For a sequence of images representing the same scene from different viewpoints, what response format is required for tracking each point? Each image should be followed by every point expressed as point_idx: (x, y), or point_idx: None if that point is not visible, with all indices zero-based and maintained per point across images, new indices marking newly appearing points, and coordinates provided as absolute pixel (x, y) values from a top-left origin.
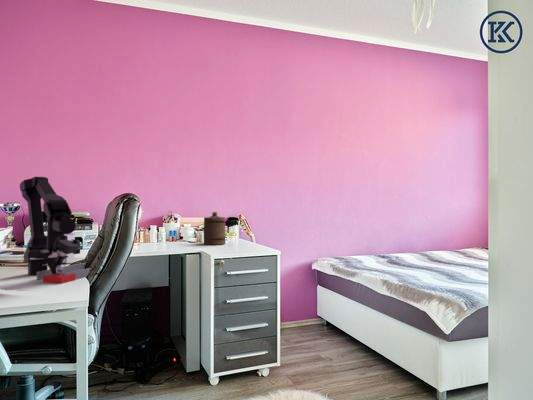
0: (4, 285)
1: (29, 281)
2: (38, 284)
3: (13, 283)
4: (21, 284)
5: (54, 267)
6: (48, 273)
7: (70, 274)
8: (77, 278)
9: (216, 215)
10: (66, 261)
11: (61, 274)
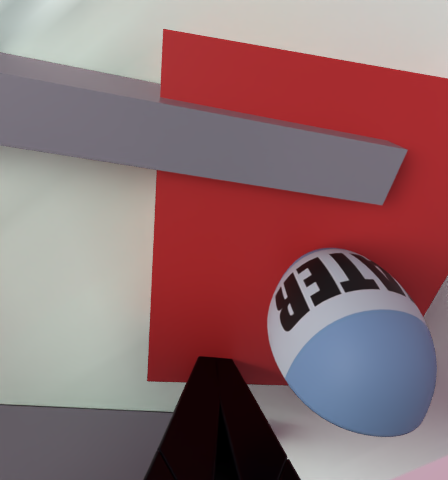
0: (428, 463)
1: (292, 434)
2: (442, 311)
3: (364, 463)
4: None
5: (283, 453)
6: (122, 457)
7: (269, 93)
8: (74, 67)
9: None
10: None
11: (274, 260)
